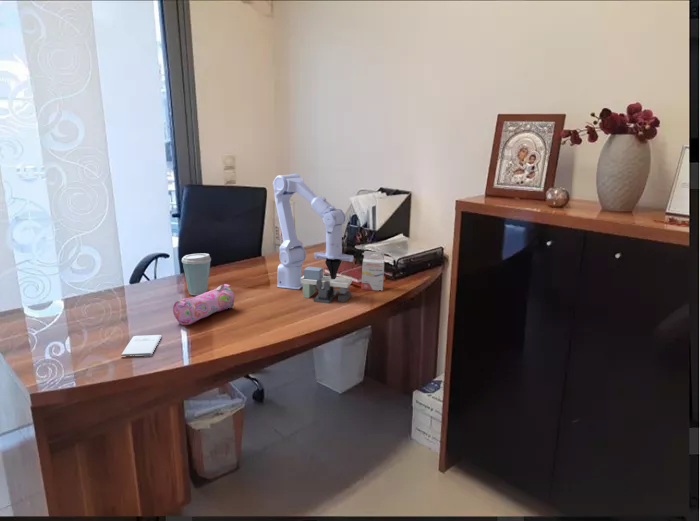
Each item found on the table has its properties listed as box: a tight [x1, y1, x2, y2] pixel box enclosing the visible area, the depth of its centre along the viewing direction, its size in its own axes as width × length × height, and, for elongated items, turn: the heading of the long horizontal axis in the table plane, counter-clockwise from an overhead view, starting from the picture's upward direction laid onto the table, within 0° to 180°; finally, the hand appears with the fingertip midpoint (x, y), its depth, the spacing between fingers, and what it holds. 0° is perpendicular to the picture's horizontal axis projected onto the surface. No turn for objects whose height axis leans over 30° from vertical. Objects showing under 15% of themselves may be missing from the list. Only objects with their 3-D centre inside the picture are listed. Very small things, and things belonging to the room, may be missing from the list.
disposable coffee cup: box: [181, 252, 212, 297], centre depth 187 cm, size 11×11×15 cm
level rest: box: [302, 284, 316, 299], centre depth 189 cm, size 2×7×6 cm, turn 165°
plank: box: [301, 275, 353, 294], centre depth 186 cm, size 18×10×4 cm, turn 75°
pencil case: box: [172, 283, 235, 326], centre depth 166 cm, size 21×9×9 cm, turn 149°
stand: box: [313, 273, 340, 304], centre depth 187 cm, size 6×13×8 cm, turn 165°
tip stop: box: [337, 290, 352, 303], centre depth 186 cm, size 3×7×2 cm, turn 165°
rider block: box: [303, 266, 324, 280], centre depth 187 cm, size 6×4×4 cm
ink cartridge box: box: [361, 250, 385, 292], centre depth 196 cm, size 9×5×15 cm, turn 84°
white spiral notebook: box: [120, 334, 162, 357], centre depth 143 cm, size 2×8×12 cm
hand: (333, 278), depth 185 cm, fingers closed
